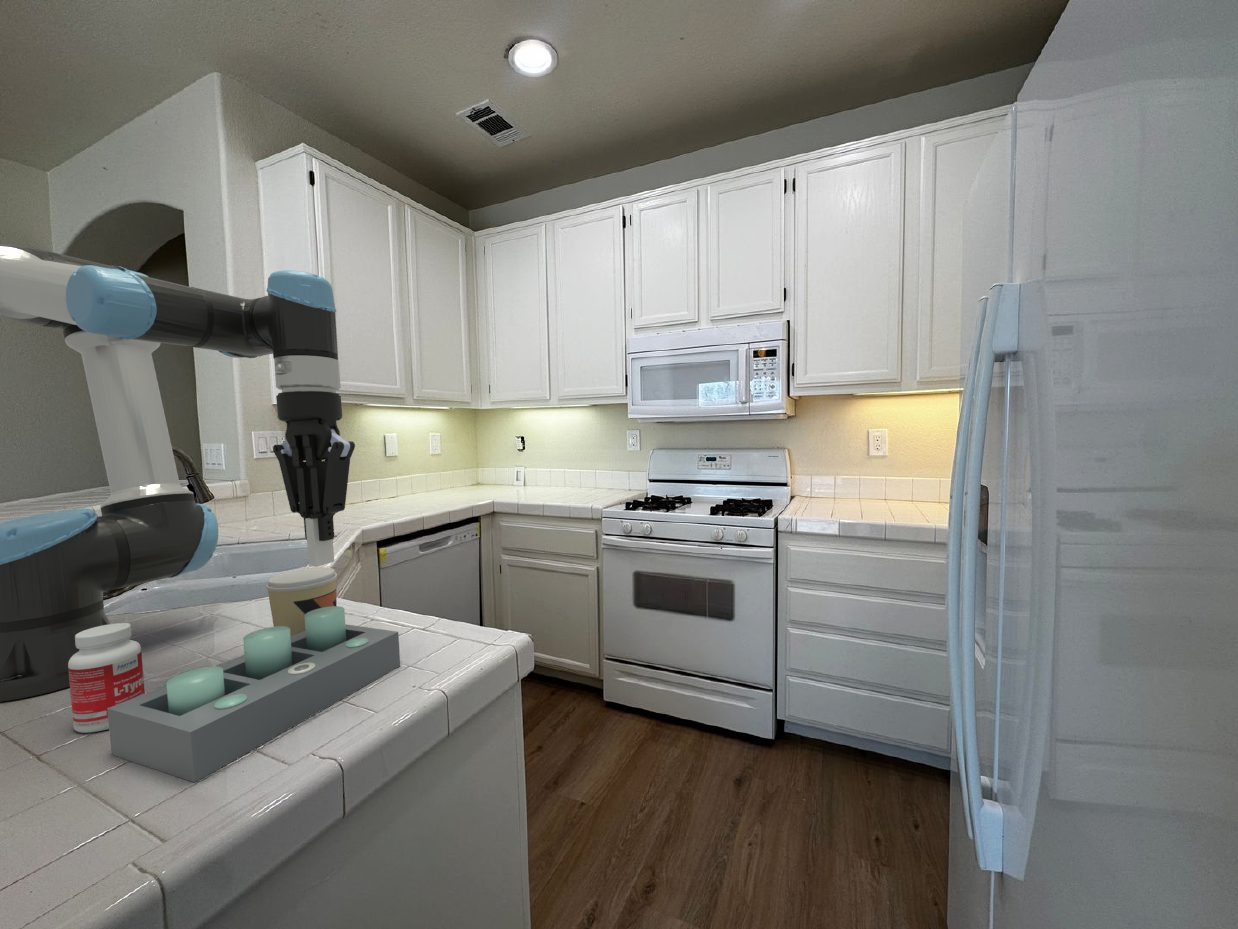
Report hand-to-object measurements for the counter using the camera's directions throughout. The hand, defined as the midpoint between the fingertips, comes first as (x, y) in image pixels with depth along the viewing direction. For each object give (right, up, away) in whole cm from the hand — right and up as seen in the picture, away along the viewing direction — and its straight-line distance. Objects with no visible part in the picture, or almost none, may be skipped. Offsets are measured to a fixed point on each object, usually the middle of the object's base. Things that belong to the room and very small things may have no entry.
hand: (321, 563), depth 70 cm
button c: (0, -12, +1) cm, 12 cm away
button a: (-6, -15, -14) cm, 21 cm away
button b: (-3, -12, -6) cm, 14 cm away
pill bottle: (-20, -17, -9) cm, 28 cm away
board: (-2, -16, -7) cm, 18 cm away
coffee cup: (-8, -16, +10) cm, 20 cm away
